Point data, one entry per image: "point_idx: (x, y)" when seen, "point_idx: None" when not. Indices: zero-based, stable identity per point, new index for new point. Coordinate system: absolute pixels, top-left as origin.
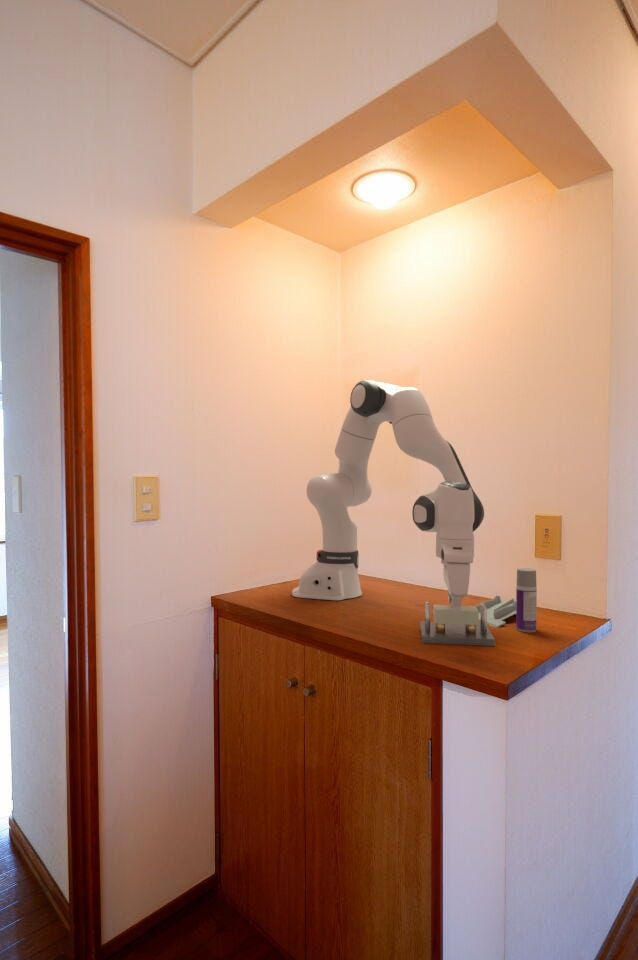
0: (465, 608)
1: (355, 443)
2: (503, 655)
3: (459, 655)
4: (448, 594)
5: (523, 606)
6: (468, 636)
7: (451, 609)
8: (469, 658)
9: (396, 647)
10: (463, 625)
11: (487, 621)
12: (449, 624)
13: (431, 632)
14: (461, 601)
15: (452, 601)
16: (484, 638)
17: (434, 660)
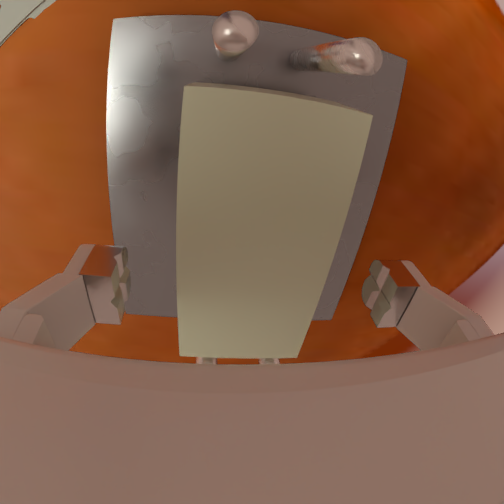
0: (272, 193)
1: None
2: (471, 85)
3: (446, 219)
4: (86, 326)
5: None
6: None
7: (299, 289)
8: (470, 199)
9: (347, 353)
10: (158, 141)
11: (14, 20)
12: (149, 209)
13: None
14: (467, 308)
15: (426, 347)
16: (391, 99)
17: (451, 283)
